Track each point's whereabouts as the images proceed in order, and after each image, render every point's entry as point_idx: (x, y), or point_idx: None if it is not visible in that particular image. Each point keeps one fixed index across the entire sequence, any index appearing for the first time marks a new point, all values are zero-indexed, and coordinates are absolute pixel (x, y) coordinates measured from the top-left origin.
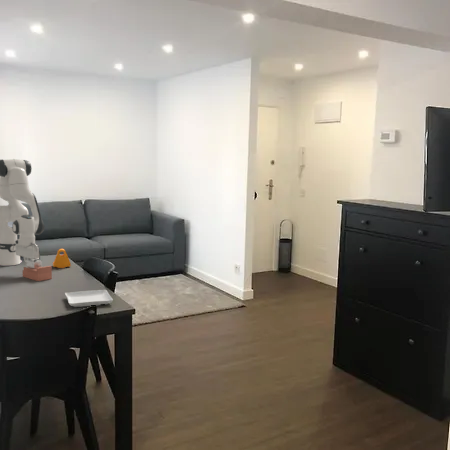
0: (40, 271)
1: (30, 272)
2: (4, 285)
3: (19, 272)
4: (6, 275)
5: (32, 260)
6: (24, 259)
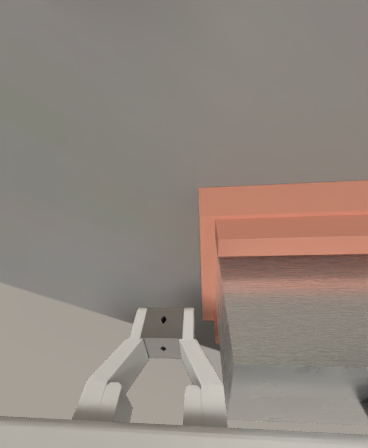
0: None
1: None
2: None
3: (65, 241)
4: (118, 313)
5: (322, 408)
6: (126, 388)
